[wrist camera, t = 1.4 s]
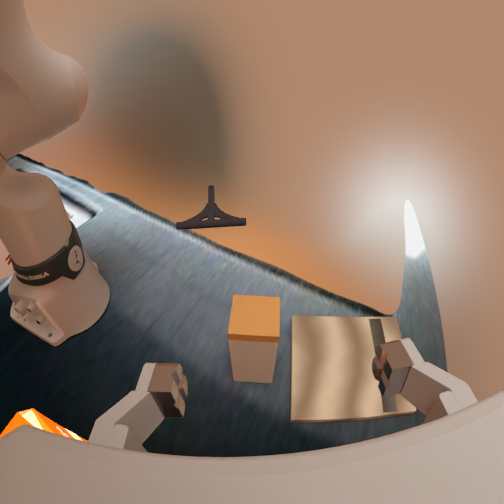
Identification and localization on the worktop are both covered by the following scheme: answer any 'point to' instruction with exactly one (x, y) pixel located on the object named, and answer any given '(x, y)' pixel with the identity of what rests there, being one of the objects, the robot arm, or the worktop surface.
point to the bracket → (211, 217)
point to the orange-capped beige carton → (254, 337)
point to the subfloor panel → (340, 369)
